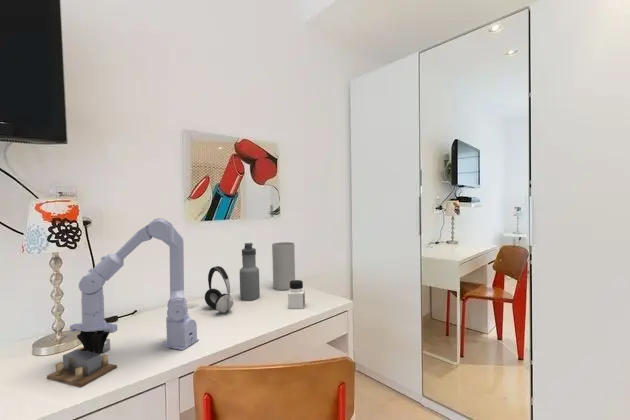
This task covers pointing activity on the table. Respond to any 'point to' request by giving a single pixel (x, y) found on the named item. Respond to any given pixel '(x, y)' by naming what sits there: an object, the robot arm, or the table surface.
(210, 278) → the headphones
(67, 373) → the walnut board
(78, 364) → the steel bar
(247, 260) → the water bottle
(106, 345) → the silver lever knob
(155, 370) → the table surface
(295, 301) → the medicine bottle
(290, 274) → the cylinder vase
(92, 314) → the robot arm
